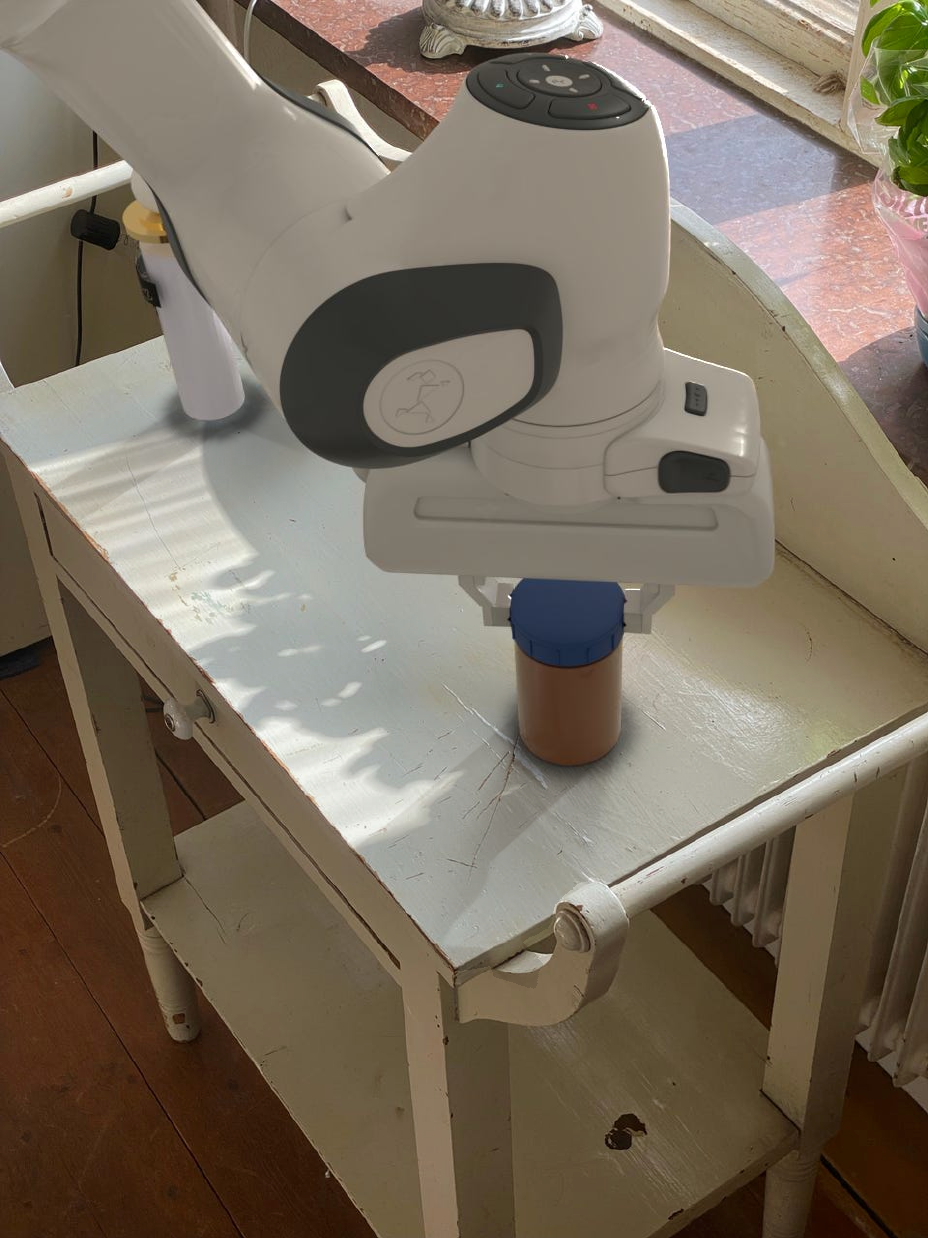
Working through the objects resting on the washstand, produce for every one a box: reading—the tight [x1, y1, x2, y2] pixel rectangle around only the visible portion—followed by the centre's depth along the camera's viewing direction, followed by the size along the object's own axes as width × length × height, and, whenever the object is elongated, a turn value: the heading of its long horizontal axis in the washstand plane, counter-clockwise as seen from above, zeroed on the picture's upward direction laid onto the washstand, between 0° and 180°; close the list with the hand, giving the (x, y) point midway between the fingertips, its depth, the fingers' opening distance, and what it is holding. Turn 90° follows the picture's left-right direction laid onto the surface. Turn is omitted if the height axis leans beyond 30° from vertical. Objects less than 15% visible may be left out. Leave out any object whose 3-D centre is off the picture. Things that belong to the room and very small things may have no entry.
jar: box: [513, 636, 624, 766], centre depth 76 cm, size 6×6×9 cm
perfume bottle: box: [122, 168, 246, 421], centre depth 94 cm, size 6×6×20 cm
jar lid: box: [510, 578, 625, 666], centre depth 73 cm, size 6×6×2 cm
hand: (569, 621), depth 73 cm, fingers closed on jar lid, 6 cm apart
